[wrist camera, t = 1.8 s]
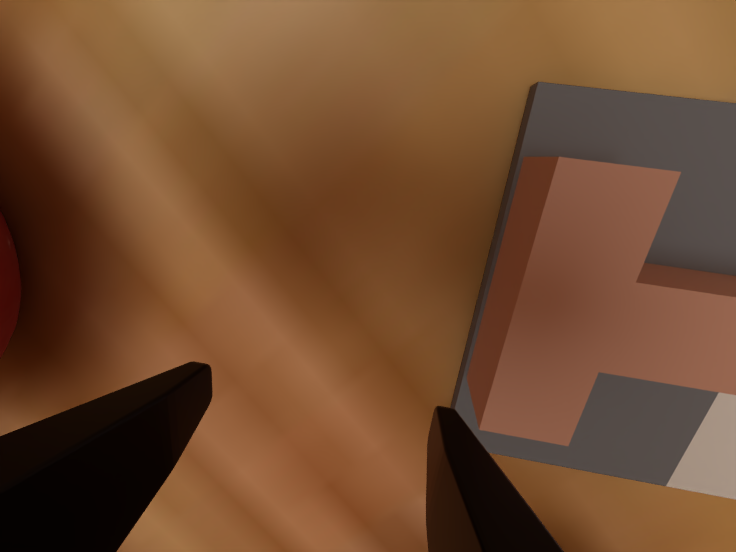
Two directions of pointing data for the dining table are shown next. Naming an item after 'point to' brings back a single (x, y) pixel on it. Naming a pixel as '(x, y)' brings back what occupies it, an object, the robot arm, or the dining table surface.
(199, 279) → the dining table surface
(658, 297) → the t block
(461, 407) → the board
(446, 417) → the robot arm
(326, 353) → the dining table surface
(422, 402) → the dining table surface
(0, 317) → the mixing bowl
